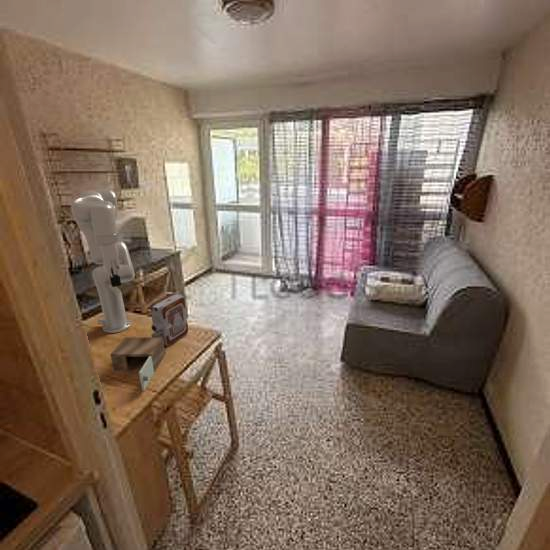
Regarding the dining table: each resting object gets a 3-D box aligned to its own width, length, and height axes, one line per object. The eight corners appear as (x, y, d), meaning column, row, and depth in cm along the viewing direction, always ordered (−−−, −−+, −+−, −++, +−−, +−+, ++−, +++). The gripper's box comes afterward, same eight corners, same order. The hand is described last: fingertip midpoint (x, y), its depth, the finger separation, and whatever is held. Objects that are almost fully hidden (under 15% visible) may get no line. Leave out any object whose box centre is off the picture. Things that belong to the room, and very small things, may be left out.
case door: (147, 390, 117) (144, 372, 114) (142, 390, 117) (138, 372, 114) (157, 372, 126) (154, 356, 123) (152, 372, 126) (149, 356, 123)
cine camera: (144, 349, 142) (136, 307, 135) (176, 329, 158) (171, 291, 151) (159, 355, 138) (152, 312, 131) (191, 333, 154) (186, 294, 147)
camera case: (114, 371, 127) (110, 354, 125) (128, 353, 139) (124, 337, 136) (154, 371, 127) (151, 354, 124) (165, 354, 138) (162, 337, 135)
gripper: (93, 236, 123) (103, 281, 130) (98, 245, 111) (108, 294, 118) (115, 233, 127) (123, 277, 133) (122, 241, 115) (130, 289, 122)
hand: (116, 285), depth 126 cm, fingers closed
